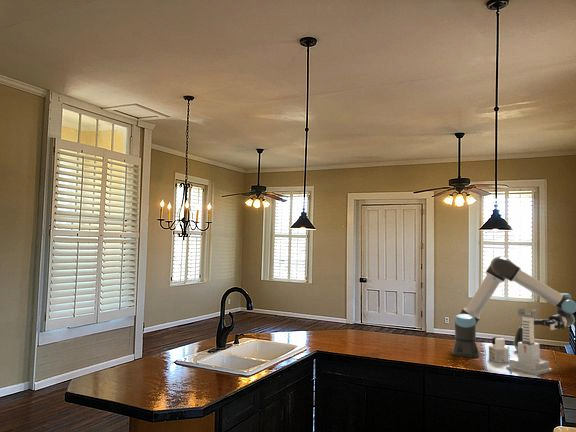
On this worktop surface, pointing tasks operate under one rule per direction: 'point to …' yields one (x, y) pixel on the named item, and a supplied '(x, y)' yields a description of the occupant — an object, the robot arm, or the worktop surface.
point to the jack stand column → (528, 324)
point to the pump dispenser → (518, 337)
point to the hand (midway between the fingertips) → (538, 325)
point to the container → (498, 350)
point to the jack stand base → (529, 360)
